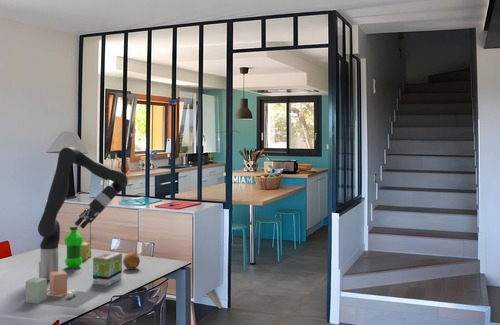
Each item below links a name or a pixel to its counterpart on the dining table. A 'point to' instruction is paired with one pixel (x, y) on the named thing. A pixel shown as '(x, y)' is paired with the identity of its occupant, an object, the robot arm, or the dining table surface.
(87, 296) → the mat
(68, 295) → the marble
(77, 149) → the robot arm
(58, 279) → the orange block
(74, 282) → the dining table surface
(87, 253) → the cheese
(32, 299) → the grey-green block
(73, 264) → the plastic bottle
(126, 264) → the onion
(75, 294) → the marble
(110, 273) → the tea box
